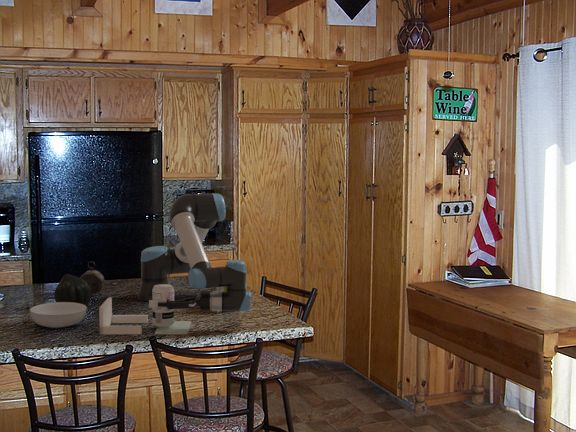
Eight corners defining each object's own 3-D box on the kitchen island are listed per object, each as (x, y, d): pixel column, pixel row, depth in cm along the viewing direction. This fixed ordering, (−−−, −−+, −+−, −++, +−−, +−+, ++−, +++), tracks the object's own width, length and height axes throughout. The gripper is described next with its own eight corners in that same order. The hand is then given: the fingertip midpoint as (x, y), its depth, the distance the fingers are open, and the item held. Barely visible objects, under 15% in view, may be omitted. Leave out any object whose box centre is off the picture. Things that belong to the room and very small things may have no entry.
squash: (100, 295, 303) (86, 266, 308) (69, 302, 292) (55, 272, 297) (88, 312, 311) (74, 284, 316) (57, 319, 300) (43, 290, 305)
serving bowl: (55, 335, 260) (55, 317, 259) (18, 327, 271) (18, 309, 270) (98, 323, 277) (98, 306, 277) (62, 316, 288) (61, 299, 288)
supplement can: (153, 321, 274) (153, 283, 273) (175, 321, 275) (175, 283, 274) (151, 327, 266) (151, 288, 265) (173, 327, 267) (173, 288, 266)
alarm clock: (105, 295, 327) (104, 260, 325) (101, 298, 322) (100, 262, 320) (82, 294, 328) (81, 260, 326) (77, 297, 323) (77, 262, 321)
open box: (147, 322, 280) (147, 297, 279) (141, 334, 262) (141, 307, 261) (108, 322, 279) (108, 297, 278) (99, 334, 262) (99, 307, 261)
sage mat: (154, 334, 262) (154, 333, 262) (160, 322, 280) (160, 321, 280) (187, 334, 263) (187, 333, 263) (191, 322, 281) (191, 321, 281)
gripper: (209, 317, 261) (146, 317, 260) (212, 304, 282) (154, 304, 280) (209, 297, 260) (146, 297, 259) (212, 286, 281) (154, 286, 280)
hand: (150, 301), depth 270 cm, fingers closed on supplement can, 8 cm apart
